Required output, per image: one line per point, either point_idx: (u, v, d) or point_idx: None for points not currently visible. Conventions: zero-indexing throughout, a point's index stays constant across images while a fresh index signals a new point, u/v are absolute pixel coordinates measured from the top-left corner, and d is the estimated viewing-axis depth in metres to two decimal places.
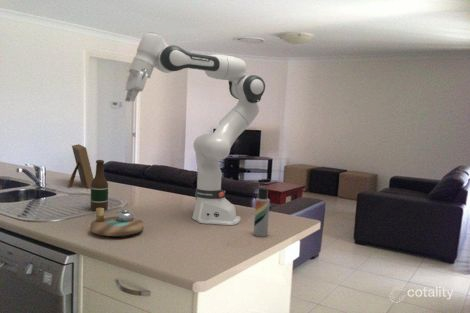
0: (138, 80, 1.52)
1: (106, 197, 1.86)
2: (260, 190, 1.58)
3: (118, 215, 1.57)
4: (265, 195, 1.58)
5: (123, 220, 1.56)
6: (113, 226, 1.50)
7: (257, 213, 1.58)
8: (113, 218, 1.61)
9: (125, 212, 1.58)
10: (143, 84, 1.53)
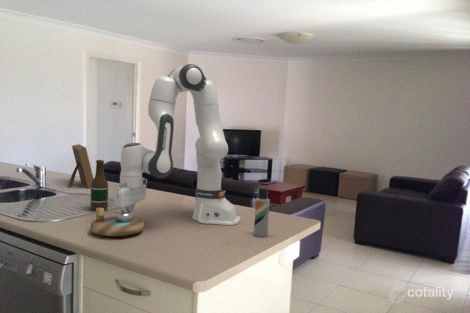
0: (114, 199, 1.54)
1: (106, 197, 1.86)
2: (260, 190, 1.58)
3: (117, 215, 1.56)
4: (265, 195, 1.58)
5: (122, 220, 1.56)
6: (113, 226, 1.50)
7: (257, 213, 1.58)
8: (113, 218, 1.61)
9: (124, 212, 1.58)
10: (119, 202, 1.53)
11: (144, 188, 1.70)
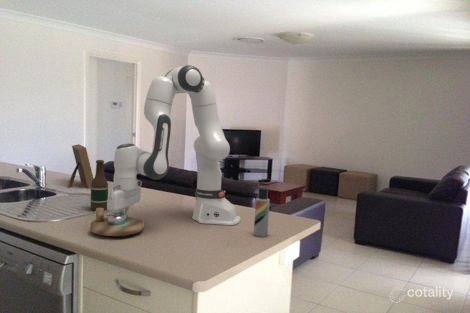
0: (108, 202, 1.49)
1: (106, 197, 1.86)
2: (260, 190, 1.58)
3: (108, 218, 1.52)
4: (265, 195, 1.58)
5: (113, 223, 1.51)
6: (113, 226, 1.50)
7: (257, 213, 1.58)
8: None
9: (116, 215, 1.53)
10: (113, 205, 1.48)
11: (139, 190, 1.65)
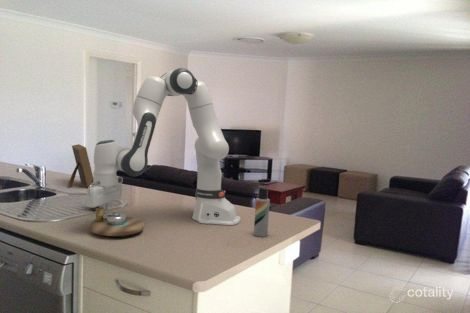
0: (86, 198, 1.49)
1: None
2: (260, 190, 1.58)
3: (108, 218, 1.51)
4: (265, 195, 1.58)
5: (113, 224, 1.51)
6: (113, 226, 1.50)
7: (257, 213, 1.58)
8: None
9: (115, 215, 1.52)
10: (91, 201, 1.48)
11: (120, 187, 1.65)
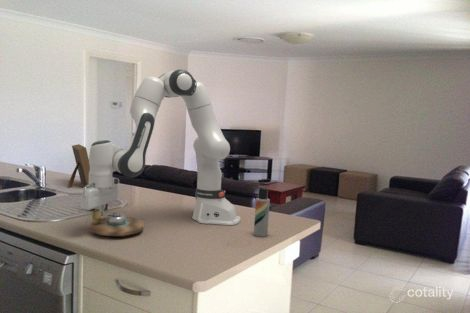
0: (81, 200, 1.45)
1: None
2: (260, 190, 1.58)
3: (112, 219, 1.50)
4: (265, 195, 1.58)
5: (118, 224, 1.51)
6: (119, 226, 1.50)
7: (257, 213, 1.58)
8: (104, 219, 1.58)
9: (118, 215, 1.52)
10: (86, 203, 1.44)
11: (116, 188, 1.61)
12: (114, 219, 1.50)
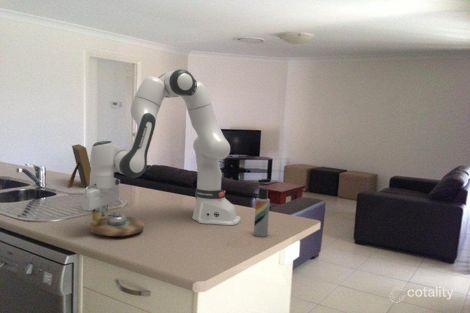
0: (83, 201, 1.44)
1: None
2: (260, 190, 1.58)
3: (114, 219, 1.50)
4: (265, 195, 1.58)
5: (120, 224, 1.51)
6: (122, 226, 1.51)
7: (257, 213, 1.58)
8: (101, 220, 1.57)
9: (119, 215, 1.53)
10: (88, 204, 1.44)
11: (117, 189, 1.60)
12: (116, 219, 1.50)
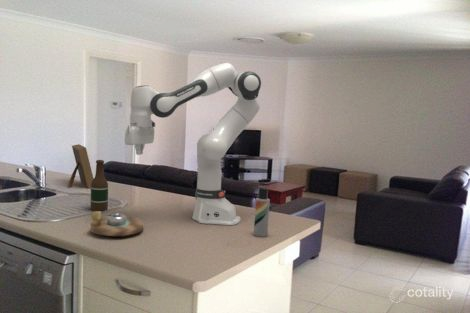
0: (125, 136, 1.62)
1: (106, 197, 1.86)
2: (260, 190, 1.58)
3: (114, 219, 1.50)
4: (265, 195, 1.58)
5: (120, 224, 1.51)
6: (122, 226, 1.51)
7: (257, 213, 1.58)
8: (101, 220, 1.57)
9: (119, 215, 1.53)
10: (130, 138, 1.61)
11: (152, 131, 1.78)
12: (116, 219, 1.50)
